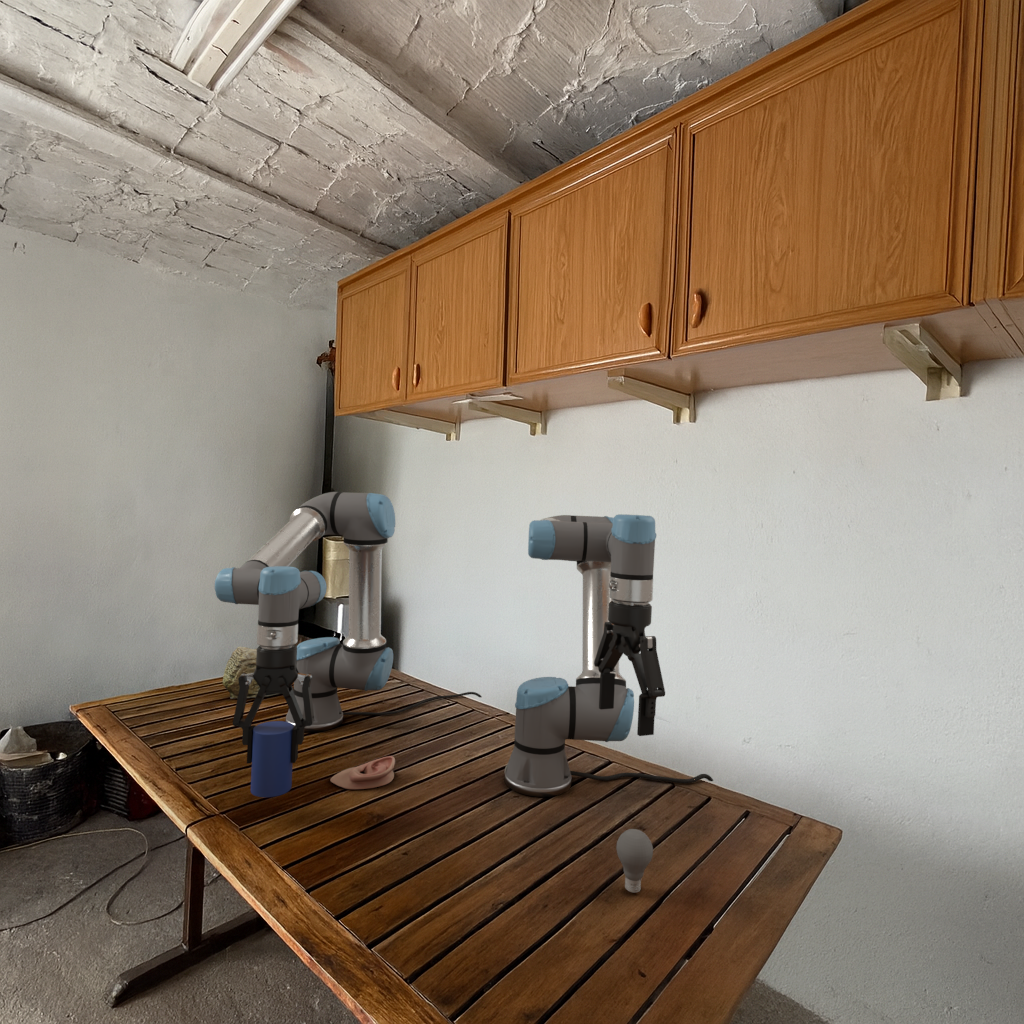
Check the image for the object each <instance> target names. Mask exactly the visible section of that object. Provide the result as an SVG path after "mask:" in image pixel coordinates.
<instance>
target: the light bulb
mask: <svg viewBox="0 0 1024 1024" xmlns="http://www.w3.org/2000/svg"><path fill="white" fill-rule="evenodd" d="M615 849H616V854H617V857H618V859H619V861H620V863H621V865H622V867H623V873H624V874H623V875H624V876H625V878H624V888H625V890H627V891H628V892H630V893H634V894H635V893H639V892H640V891H641V889H642V887H641V886H642V879H643V877H644V875H645V871H646V868H647V867H648V866H649V864H650V863H651V861H652V859H653V855H654V847H653V843H652V841H651V838H649V836H648V835H647V834H646V833H645V832H643V831H642V830H641V829H636V828H629V829H627V830H625V831H623V832H622V833H621V834H620V835H619V837H618V839H617V841H616V847H615Z"/></svg>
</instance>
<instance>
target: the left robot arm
mask: <svg viewBox="0 0 1024 1024" xmlns="http://www.w3.org/2000/svg"><path fill="white" fill-rule="evenodd" d="M395 528H396V513H395V508H394V505H393V503H392V500H391V499H390V498H389V497H388V496H387V495H385V494H380V493H374V492H346V491H345V492H343V491H329V492H325V493H321V494H320V495H317V496H314V497H313V498H311V499H309V500H307V501H305V502H303V503H302V504H301V505H299V506H298V507H297V508H295V510H294V511H292V513H291V514H290V517H289V520H288V522H287V523H285V524H284V526H282V527H281V528H280V529H279V530H278V531H277V532H276V533H275V534H274V535H273V536H272V537H271V538H270V539H268V540H267V541H266V542H265V544H264V545H262V546H261V547H260V548H259V549H258V550H257V551H256V552H255V553H254V554H252V556H251V557H249V559H247V560H246V561H245V562H244V563H243V564H242V565H241V566H240V567H236V566H235V567H234V566H233V567H225V568H222V569H221V570H219V572H218V573H217V575H216V578H215V581H214V592H215V596H216V598H217V599H218V600H219V601H221V602H222V603H228V604H229V603H230V604H234V605H251V606H252V605H253V606H258V613H257V615H258V618H257V630H256V631H257V633H256V635H257V636H256V644H257V645H258V647H256V649H257V654H256V669H255V671H254V673H249V674H247V673H243V674H242V675H241V676H240V677H239V678H238V681H239V687H240V689H239V694H238V698H236V699H237V700H236V705H235V710H234V714H233V720H232V726H233V727H238V728H241V729H242V735H241V736H242V737H241V743H242V745H243V746H246V747H247V748H246V749H247V750H246V764H248V765H249V764H252V744H253V728H254V727H255V726H257V725H252V724H253V722H254V720H255V717H256V715H257V713H258V711H259V709H260V707H261V705H262V702H263V700H264V699H265V697H266V696H265V694H271V693H278V694H277V695H282V696H283V698H284V699H285V701H286V704H287V706H288V711H287V713H286V715H285V722H289V723H292V724H293V725H294V728H293V730H292V752H291V763H293V764H295V763H296V762H297V760H298V758H299V745H302V744H303V743H304V740H305V733H316V732H325V731H329V730H332V729H335V728H337V727H339V726H340V725H342V723H343V722H344V716H389V715H395V714H399V713H403V712H405V711H408V710H410V709H413V708H417V707H419V706H420V705H423V704H425V703H428V702H430V701H435V700H441V699H451V698H459V697H463V696H464V697H465V696H468V695H473V696H476V697H478V698H483V696H482V695H481V694H480V693H478V692H475V691H467V692H466V691H465V692H462V693H457V694H448V695H440V696H439V695H438V696H434V697H429V698H426V699H423V700H421V701H419V702H417V703H414V704H411V705H409V706H407V707H403V708H401V709H397V710H392V711H386V712H385V711H384V712H383V711H381V712H380V711H379V712H376V711H375V712H373V711H371V712H370V711H343V709H342V706H341V702H340V699H339V695H338V689H348V690H358V691H364V692H368V691H375V692H377V691H380V690H382V689H383V688H384V687H385V685H386V684H387V683H388V681H389V678H390V675H391V673H392V669H393V664H394V651H393V649H392V648H391V647H389V646H388V647H387V638H385V637H384V636H383V635H382V634H381V633H382V631H381V630H382V567H383V565H382V561H383V559H382V558H383V557H382V556H383V548H385V547H386V545H388V542H389V541H388V539H390V538H392V537H394V533H395V530H396V529H395ZM327 535H333V536H334V535H336V536H343V545H345V547H347V549H348V550H349V551H348V559H349V560H348V561H349V562H348V635H347V636H346V637H345V638H344V639H343V641H342V644H341V641H340V639H339V638H338V637H334V636H325V637H317V638H312V639H307V640H304V641H302V642H299V643H298V640H299V639H298V637H299V614H300V610H302V609H305V608H311V606H312V607H313V606H315V605H316V604H317V603H319V602H321V601H322V600H323V599H324V597H325V595H326V593H327V587H328V586H327V582H326V581H327V580H326V579H325V577H324V576H323V575H322V574H321V573H319V572H318V571H315V570H302V571H300V569H299V568H298V567H295V566H291V565H292V563H293V562H294V561H295V560H296V559H297V558H298V557H299V556H300V555H301V554H302V553H303V552H304V551H305V550H306V549H307V547H308V546H309V545H311V543H312V542H316V541H318V540H319V539H321V538H322V537H323V536H327ZM296 644H297V645H296ZM252 679H254V680H255V681H256V682H257V684H258V685H259V687H260V689H259V691H258V693H257V695H256V697H254V700H253V703H252V705H251V706H250V709H249V711H248V712H247V715H246V717H245V718H244V715H245V709H246V704H247V700H248V698H247V695H248V690H249V685H250V684H251V683H252ZM264 696H265V697H264Z"/></svg>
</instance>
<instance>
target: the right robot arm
mask: <svg viewBox="0 0 1024 1024" xmlns="http://www.w3.org/2000/svg"><path fill="white" fill-rule="evenodd" d="M656 540H657V533H656V519H655V518H654V517H653V516H651V515H644V514H643V515H642V514H624V513H623V514H622V513H621V514H619V513H618V514H615V515H614V516H611V517H610V516H608V515H605V516H598V515H597V516H595V515H571V514H561V515H553V516H548V517H545V518H541V519H539V520H538V519H536V520H532V521H531V522H529V527H528V543H527V544H528V545H527V554H528V556H529V558H531V559H536V560H543V561H549V560H550V561H567V562H576V571H578V572H579V573H580V574H581V575H582V671H581V673H580V674H579V675H578V676H577V677H576V678H575V686H572V685H571V686H570V685H569V683H568V681H567V680H566V679H565V678H562V677H556V676H541V677H535V678H531V679H528V680H526V681H523V682H522V683H521V684H520V685H519V686H518V687H517V690H516V699H515V703H514V708H515V721H514V741H513V748H512V751H511V754H510V756H509V759H508V762H507V764H505V768H504V773H503V774H504V783H505V785H506V786H507V787H508V788H509V789H511V790H512V791H514V792H517V793H519V794H522V795H524V796H528V797H529V796H530V797H536V798H537V797H538V798H539V797H540V798H547V797H548V798H549V797H555V796H558V795H562V794H564V793H566V792H567V791H569V789H571V786H572V776H574V777H580V778H585V779H590V780H594V781H600V782H607V781H615V780H617V779H618V780H619V779H622V778H637V779H645V780H650V781H651V780H652V781H658V782H668V783H675V784H686V785H687V784H693V783H697V782H698V781H700V780H703V779H706V780H707V781H708V782H714V779H713V777H711V776H710V775H709V774H707V773H700V774H698V775H695V776H693V777H692V778H676V777H670V776H669V777H668V776H661V775H653V774H647V773H640V772H619V773H615V774H611V775H596V774H591V773H587V772H582V771H576V770H571V769H570V765H569V762H568V757H567V754H566V740H574V741H590V742H591V741H593V742H604V743H609V742H623V741H625V740H626V739H627V738H628V737H629V735H630V732H631V729H632V725H633V719H634V710H635V694H634V693H635V692H634V691H633V689H632V688H629V687H627V679H626V678H624V676H622V675H621V673H620V659H621V658H622V657H623V655H624V656H626V657H627V659H628V661H629V662H630V663H631V665H632V667H633V670H634V673H635V676H636V679H637V682H638V685H639V689H640V692H641V693H640V694H639V695H638V711H637V730H636V733H637V734H636V735H637V736H638V737H644V736H654V734H655V717H656V710H657V699H658V698H659V697H660V698H661V697H662V698H663V697H665V696H666V690H665V685H664V679H663V675H662V670H661V666H660V661H659V655H658V650H657V637H656V636H655V635H647V636H646V632H645V630H646V628H647V627H649V626H650V625H651V624H652V613H653V612H652V611H653V606H652V605H651V602H652V601H653V599H654V596H653V595H654V570H655V569H654V566H655V550H656V549H655V548H656ZM694 779H695V780H694Z"/></svg>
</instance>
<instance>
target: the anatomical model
mask: <svg viewBox="0 0 1024 1024" xmlns="http://www.w3.org/2000/svg"><path fill="white" fill-rule="evenodd" d="M395 765H396V759H395V757H394V756H392V755H387V756H384V757H380V758H376V759H373V760H370V761H368V762H364V763H362V764H360V765H358V766H353V767H349V768H346V769H343V770H341V771H339V772H337V773H335V774H334V775H333V776H332V777H330V783H333V785H336V786H338V787H340V788H343V789H345V790H364V789H374V788H377V787H382V786H385V785H388V784H390V783H391V782H392V781H393V779H394V777H395V771H394V768H395Z"/></svg>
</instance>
